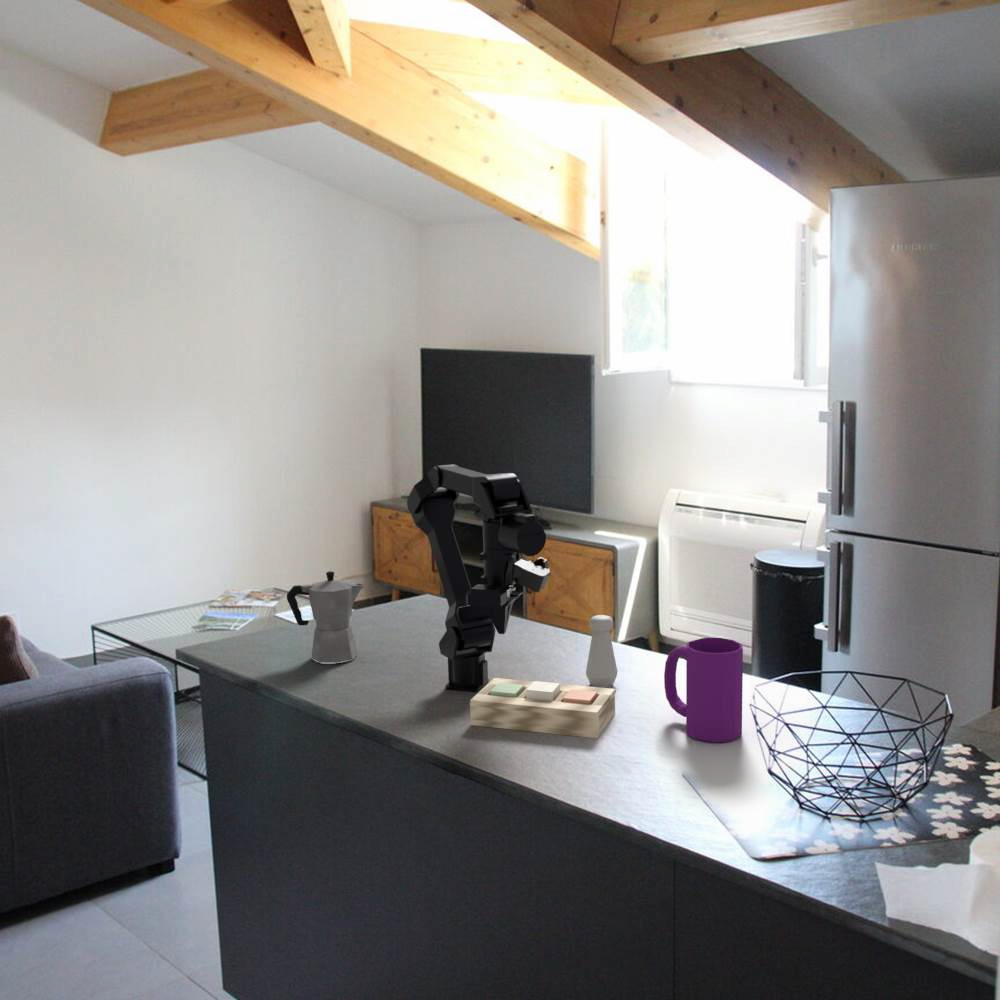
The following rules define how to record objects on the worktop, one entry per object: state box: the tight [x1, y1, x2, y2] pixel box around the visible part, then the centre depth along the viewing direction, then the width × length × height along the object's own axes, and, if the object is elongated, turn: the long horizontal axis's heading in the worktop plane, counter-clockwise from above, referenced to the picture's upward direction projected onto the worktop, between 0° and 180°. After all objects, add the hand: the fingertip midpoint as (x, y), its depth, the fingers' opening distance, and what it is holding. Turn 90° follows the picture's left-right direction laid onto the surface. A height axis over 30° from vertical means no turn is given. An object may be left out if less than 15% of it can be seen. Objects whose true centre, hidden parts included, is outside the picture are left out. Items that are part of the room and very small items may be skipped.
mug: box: [663, 637, 744, 744], centre depth 190 cm, size 9×16×15 cm, turn 37°
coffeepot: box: [286, 570, 365, 662], centre depth 232 cm, size 15×9×18 cm, turn 102°
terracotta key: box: [563, 689, 597, 705], centre depth 194 cm, size 5×5×3 cm
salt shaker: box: [585, 614, 618, 688], centre depth 213 cm, size 6×6×13 cm
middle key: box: [526, 680, 561, 701], centre depth 196 cm, size 5×5×3 cm
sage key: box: [490, 683, 524, 698], centre depth 199 cm, size 5×5×3 cm
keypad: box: [469, 677, 616, 739], centre depth 197 cm, size 22×12×4 cm, turn 70°
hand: (502, 633), depth 203 cm, fingers closed
